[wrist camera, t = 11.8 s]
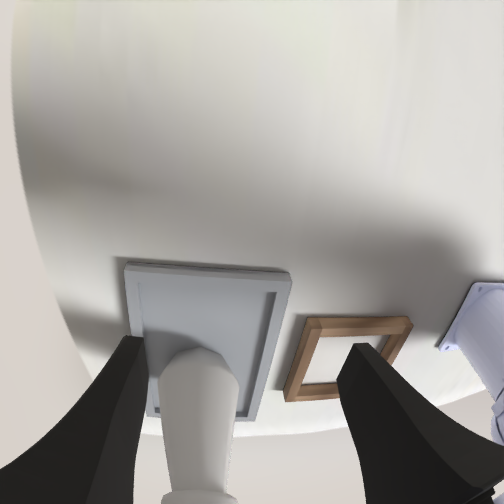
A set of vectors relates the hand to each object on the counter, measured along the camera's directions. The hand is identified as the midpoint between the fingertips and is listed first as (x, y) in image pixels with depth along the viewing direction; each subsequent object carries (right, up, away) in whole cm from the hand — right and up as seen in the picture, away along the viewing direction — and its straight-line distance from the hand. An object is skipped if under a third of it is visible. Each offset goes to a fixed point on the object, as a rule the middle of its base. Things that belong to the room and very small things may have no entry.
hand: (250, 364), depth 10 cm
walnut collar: (+8, -5, +14) cm, 17 cm away
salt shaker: (-4, -5, +13) cm, 14 cm away
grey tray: (-4, -4, +13) cm, 14 cm away
